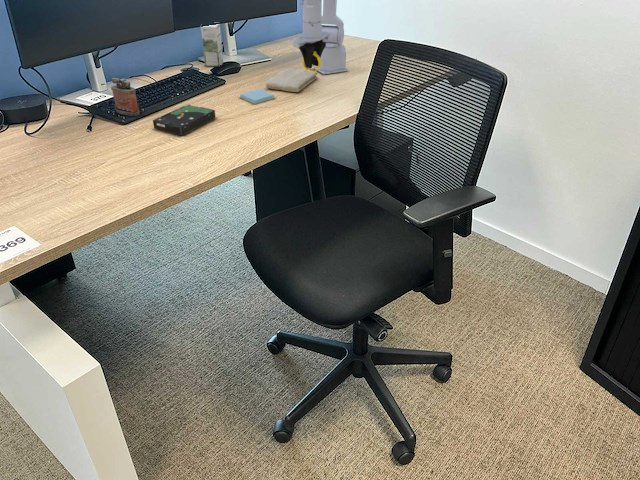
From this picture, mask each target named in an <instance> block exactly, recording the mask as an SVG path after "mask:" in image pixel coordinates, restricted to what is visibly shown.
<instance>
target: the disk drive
mask: <svg viewBox="0 0 640 480" xmlns="http://www.w3.org/2000/svg"><path fill="white" fill-rule="evenodd" d="M216 118H217V117H216V110H215V109H213V108H212V109H211V108H207V107H205V106H204V107H203V106H195V105H191V104H186V105H183V106H180V107H179V108H176V109H174V110H172V111H170V112H167V113H166V114H163V115H161V116H158V117H157V118H154V119H153V120H152V124H153V128H154V129H156V130H159V131H162V132H167V133H171V134H174V135H179V136H184V135H186V134H188V133H190V132H192V131H194V130H195V129H197V128H200V127H201V126H203V125H205V124H208V123H209V122H211V121H213V120H215V119H216Z"/></svg>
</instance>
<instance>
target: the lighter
mask: <svg viewBox="0 0 640 480" xmlns="http://www.w3.org/2000/svg"><path fill="white" fill-rule="evenodd" d="M111 83H112V85H111V86H110V90H111V92H112V96H113V100H114V105H115V113H117V114H120V115H124V116H129V117H130V116H133V117H136V116H140V114H141V112H140V109H139V105H138V104H139V103H138V100H137V95H136V92H137V90H136V88H135V87H133V86H131V81H130V80H127V79H126V78H124V77H123V78H122V79H121V78H117V77H112V78H111ZM113 84H114V85H113ZM116 107H117V108H119V109H122V110H126V111H130V112H126V111H121V110H118V109H116Z"/></svg>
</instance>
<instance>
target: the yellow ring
mask: <svg viewBox="0 0 640 480" xmlns="http://www.w3.org/2000/svg"><path fill="white" fill-rule="evenodd" d="M313 55H314V56H315V57H316V58H317V60H318V66H317V67H318V68H317V69H314V68H307V67H306V66H305V62H304V58H303V57H302V66H303V68H304V69H305V71H312V72H316V73H317V70H319V69H320V67H321V59H320V57H319V55H318V54H317V52H316V51H314V53H313Z"/></svg>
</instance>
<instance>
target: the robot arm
mask: <svg viewBox="0 0 640 480" xmlns="http://www.w3.org/2000/svg"><path fill="white" fill-rule="evenodd" d="M337 3H338V0H300V4H301V6H302V34H301V35H300V37H298V38H294V39H293V40H292V43H293V44H292V45H293V48H298V50H299V51H300V53H301V55H302V59H303V58H304V62H305V66H306V67H307V68H309V69H313V70H316V69H317V68H318V60H317V58H316V57H315V56H314V55H313V53H314V51H316V52H317V54H318V55H319V57H320V59H321V67H320V69H319V70H317V71H318V72H319V73H320V74H322V75H329V74H337V73H342V72H343V73H344V72H347V69H346V68H347V49H346V47H345V45H344V44H343V43H344V40H345V27H344V25H345V24H344V21H343V20H342V19H341V18H340V17H339V16H338V15H337V6H338V5H337ZM313 66H315V67H314V68H313ZM317 71H316V72H317Z"/></svg>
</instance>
